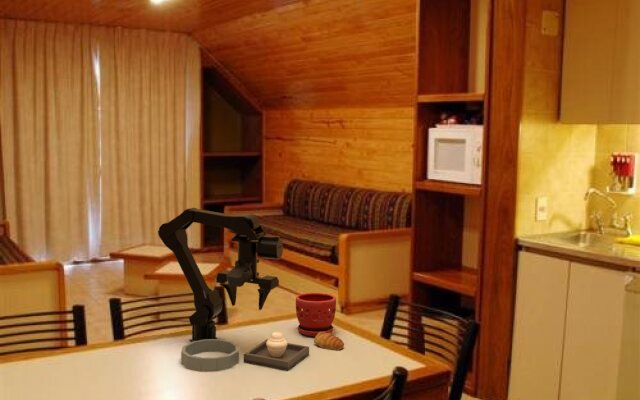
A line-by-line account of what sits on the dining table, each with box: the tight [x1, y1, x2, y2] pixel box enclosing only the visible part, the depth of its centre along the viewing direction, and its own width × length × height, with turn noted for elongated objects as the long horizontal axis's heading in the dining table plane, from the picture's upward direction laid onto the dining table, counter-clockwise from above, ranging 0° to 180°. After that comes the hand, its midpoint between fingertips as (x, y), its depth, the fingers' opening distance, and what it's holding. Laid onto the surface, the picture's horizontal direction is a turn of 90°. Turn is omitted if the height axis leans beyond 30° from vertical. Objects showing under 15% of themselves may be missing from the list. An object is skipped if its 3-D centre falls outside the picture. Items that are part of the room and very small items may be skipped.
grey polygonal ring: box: [180, 338, 240, 372], centre depth 187 cm, size 16×16×4 cm
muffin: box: [266, 331, 289, 357], centre depth 190 cm, size 6×6×7 cm
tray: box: [243, 338, 310, 372], centre depth 190 cm, size 14×14×2 cm
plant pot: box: [295, 292, 337, 337], centre depth 214 cm, size 13×13×12 cm
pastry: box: [313, 332, 345, 351], centre depth 202 cm, size 9×7×4 cm
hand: (246, 307), depth 198 cm, fingers open, 9 cm apart
